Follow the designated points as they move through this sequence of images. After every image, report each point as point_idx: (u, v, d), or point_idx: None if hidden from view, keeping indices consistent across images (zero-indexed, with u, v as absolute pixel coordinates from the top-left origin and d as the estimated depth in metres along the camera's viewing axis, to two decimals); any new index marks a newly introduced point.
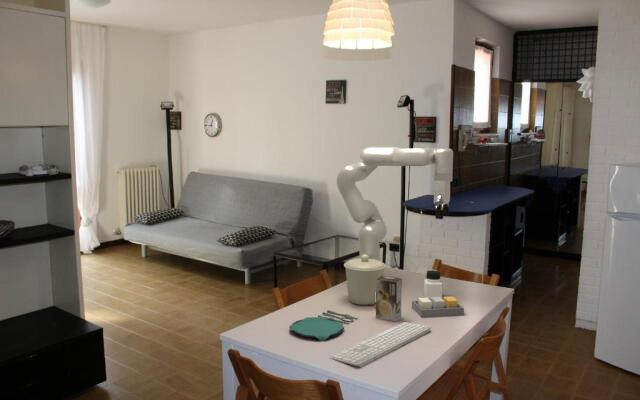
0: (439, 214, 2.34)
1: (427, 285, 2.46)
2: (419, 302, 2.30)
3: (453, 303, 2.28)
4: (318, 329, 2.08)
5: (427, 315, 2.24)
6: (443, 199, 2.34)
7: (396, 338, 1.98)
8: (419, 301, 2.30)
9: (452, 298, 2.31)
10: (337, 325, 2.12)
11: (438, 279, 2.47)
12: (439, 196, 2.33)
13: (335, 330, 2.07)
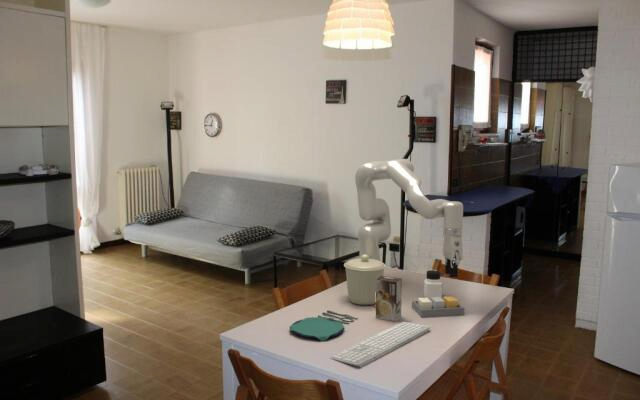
0: None
1: (427, 285, 2.46)
2: (419, 302, 2.30)
3: (453, 303, 2.28)
4: (318, 329, 2.08)
5: (427, 315, 2.24)
6: None
7: (395, 338, 1.98)
8: (419, 301, 2.30)
9: (452, 298, 2.31)
10: (337, 325, 2.12)
11: (438, 279, 2.47)
12: None
13: (335, 330, 2.07)
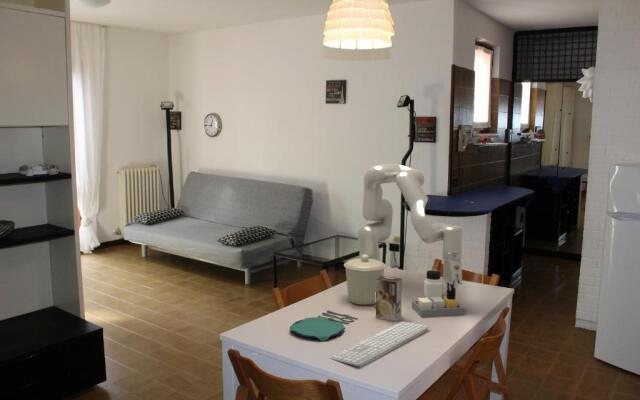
0: None
1: (427, 285, 2.46)
2: (419, 302, 2.30)
3: (453, 303, 2.28)
4: (319, 329, 2.08)
5: (427, 315, 2.24)
6: None
7: (395, 338, 1.98)
8: (419, 301, 2.30)
9: None
10: (337, 326, 2.12)
11: (438, 279, 2.47)
12: None
13: (336, 330, 2.07)
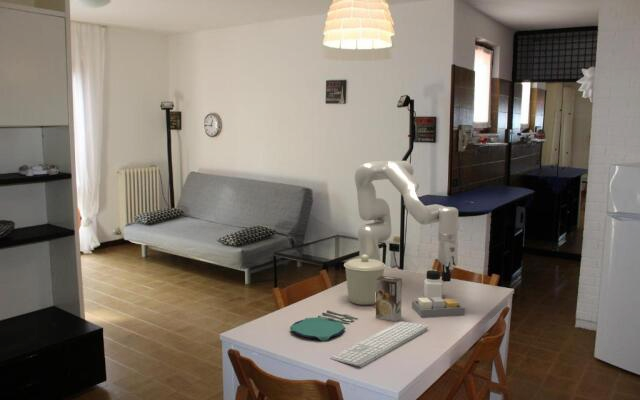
0: None
1: (427, 285, 2.46)
2: (419, 302, 2.30)
3: (453, 305, 2.29)
4: (319, 329, 2.08)
5: (427, 315, 2.24)
6: None
7: (394, 337, 1.99)
8: (419, 301, 2.30)
9: (452, 300, 2.31)
10: (337, 326, 2.12)
11: (438, 279, 2.47)
12: None
13: (336, 330, 2.07)
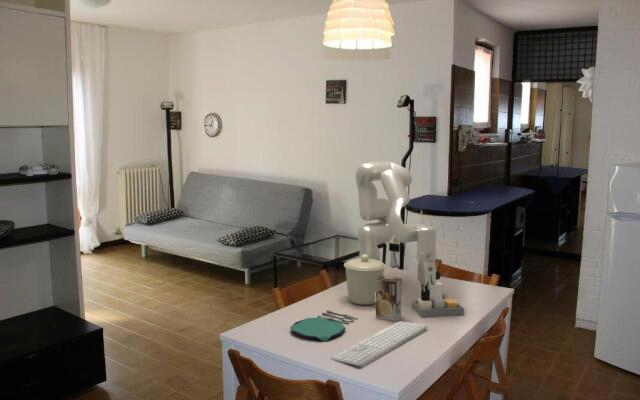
0: None
1: None
2: (419, 302, 2.30)
3: (453, 305, 2.29)
4: (319, 329, 2.08)
5: (427, 315, 2.24)
6: None
7: (394, 337, 1.99)
8: (419, 301, 2.30)
9: (452, 300, 2.31)
10: (338, 326, 2.11)
11: (438, 279, 2.47)
12: None
13: (336, 330, 2.07)
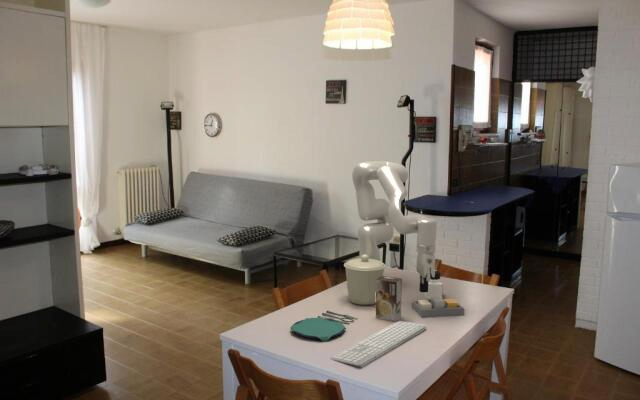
0: None
1: None
2: (419, 304, 2.30)
3: (453, 305, 2.29)
4: (319, 330, 2.08)
5: (427, 315, 2.24)
6: None
7: (393, 337, 1.99)
8: (419, 303, 2.30)
9: (452, 300, 2.31)
10: (338, 326, 2.11)
11: (438, 279, 2.47)
12: None
13: (336, 330, 2.07)
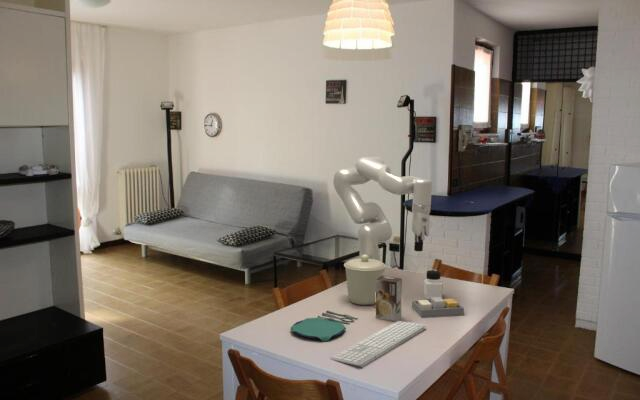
0: None
1: (427, 285, 2.46)
2: (419, 304, 2.30)
3: (453, 305, 2.29)
4: (320, 330, 2.08)
5: (427, 315, 2.24)
6: None
7: (393, 337, 1.99)
8: (419, 303, 2.30)
9: (452, 300, 2.31)
10: (338, 326, 2.11)
11: (438, 279, 2.47)
12: None
13: (337, 330, 2.07)
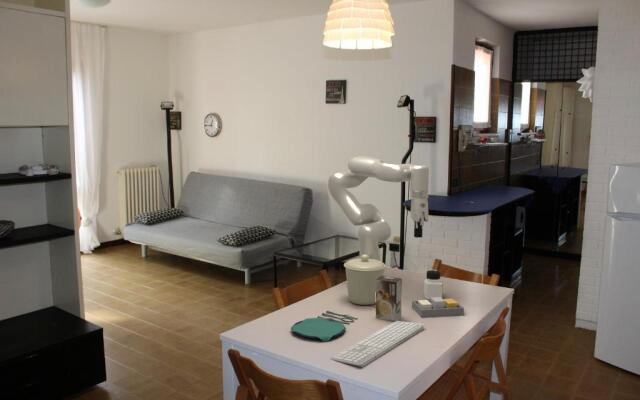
0: None
1: (427, 285, 2.46)
2: (419, 304, 2.30)
3: (453, 305, 2.29)
4: (320, 330, 2.07)
5: (427, 315, 2.24)
6: None
7: (392, 337, 1.99)
8: (419, 303, 2.30)
9: (452, 300, 2.31)
10: (338, 326, 2.11)
11: (438, 279, 2.47)
12: None
13: (337, 330, 2.07)
